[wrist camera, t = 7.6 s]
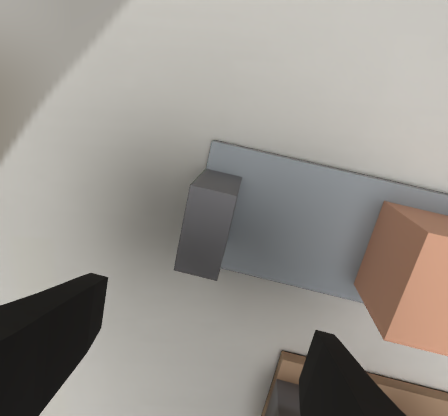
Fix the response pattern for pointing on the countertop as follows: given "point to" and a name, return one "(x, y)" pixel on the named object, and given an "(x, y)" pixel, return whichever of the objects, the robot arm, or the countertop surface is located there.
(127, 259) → the countertop surface
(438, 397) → the walnut strip
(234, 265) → the slate strip
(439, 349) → the terracotta block
